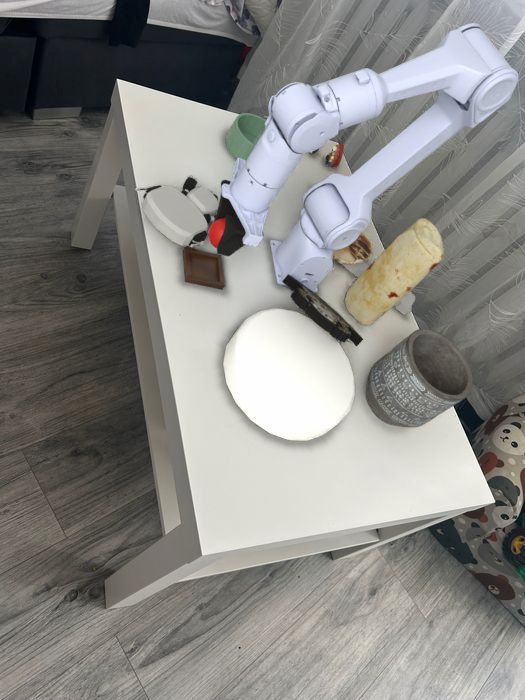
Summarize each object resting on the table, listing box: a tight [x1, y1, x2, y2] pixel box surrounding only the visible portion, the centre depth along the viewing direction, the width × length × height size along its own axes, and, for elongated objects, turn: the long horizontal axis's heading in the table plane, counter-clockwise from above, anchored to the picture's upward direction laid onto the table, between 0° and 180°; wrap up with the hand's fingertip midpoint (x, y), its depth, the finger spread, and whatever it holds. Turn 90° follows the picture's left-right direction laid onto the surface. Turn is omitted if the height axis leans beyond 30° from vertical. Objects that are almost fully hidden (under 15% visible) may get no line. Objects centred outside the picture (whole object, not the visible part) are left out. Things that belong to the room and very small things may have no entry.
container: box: [222, 307, 356, 442], centre depth 87 cm, size 20×20×5 cm
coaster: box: [182, 246, 226, 291], centre depth 92 cm, size 6×6×1 cm
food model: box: [344, 217, 444, 327], centre depth 98 cm, size 10×7×20 cm
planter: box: [365, 328, 474, 428], centre depth 92 cm, size 12×12×13 cm
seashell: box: [333, 231, 374, 266], centre depth 105 cm, size 8×6×10 cm
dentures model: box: [309, 143, 345, 168], centre depth 124 cm, size 6×4×8 cm
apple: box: [207, 218, 225, 249], centre depth 86 cm, size 5×5×5 cm
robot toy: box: [134, 174, 220, 248], centre depth 94 cm, size 12×4×15 cm
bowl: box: [225, 112, 267, 160], centre depth 113 cm, size 10×10×4 cm
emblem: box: [282, 274, 364, 347], centre depth 93 cm, size 16×2×15 cm
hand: (221, 239), depth 87 cm, fingers closed on apple, 4 cm apart
